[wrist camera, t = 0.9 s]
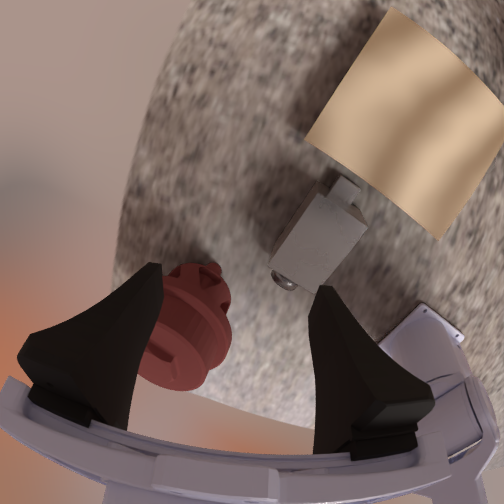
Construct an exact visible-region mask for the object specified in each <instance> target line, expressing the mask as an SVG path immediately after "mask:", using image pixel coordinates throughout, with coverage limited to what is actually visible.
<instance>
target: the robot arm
mask: <svg viewBox="0 0 504 504" xmlns="http://www.w3.org/2000/svg"><path fill="white" fill-rule="evenodd" d="M163 300H164V290H163V278H162V265H161V264H158V263H152V262H149V263H147V264H146V265H145V266H144V267H142V268H141V269H140V270H139V271H138V272H137V273H135V274H134V275H133V276H132V277H131V278H130V279H128V280H127V281H126V282H125V283H124V284H122V285H121V286H120V287H119V288H118V289H116V290H115V291H114V292H112V293H111V294H110V295H108V296H107V297H106V298H104V299H103V300H102V301H100V302H99V303H97V304H95V305H94V306H92V307H91V308H89V309H88V310H86V311H84V312H82V313H80V314H78V315H76V316H75V317H73V318H71V319H69V320H67V321H64V322H62V323H60V324H58V325H55V326H53V327H51V328H47V329H44V330H41V331H38V332H35V333H32V334H30V335H29V337H28V338H27V340H26V342H25V343H24V345H23V347H22V348H21V350H20V351H19V353H18V355H17V360H18V363H19V364H20V366H21V368H22V369H23V370H24V372H25V373H26V374H27V376H28V377H29V378H30V379H31V381H32V382H33V383H34V384H33V386H32V388H30V387H29V386H27V385H26V384H24V383H22V382H20V381H18V380H17V379H15V378H13V377H11V376H8V378H7V380H6V382H5V384H4V386H3V388H2V390H1V392H0V428H1V429H3V430H4V431H5V432H6V433H8V434H9V435H10V436H12V437H13V438H14V439H16V440H17V441H19V442H20V443H22V444H23V445H25V446H27V447H28V448H30V449H32V450H33V451H35V452H37V453H39V454H40V455H42V456H44V457H46V458H48V459H49V460H51V461H53V462H56V463H57V464H59V465H61V466H63V467H65V468H67V469H69V470H71V471H73V472H75V473H78V474H80V475H82V476H84V477H87V478H89V479H91V480H94V481H96V482H99V483H101V484H104V485H106V490H105V494H104V499H103V503H102V504H372V503H376V502H381V501H385V500H388V499H392V498H396V497H399V496H403V495H406V494H410V493H414V494H418V495H422V496H425V497H428V498H431V499H432V502H433V504H488V502H487V497H486V492H485V488H484V484H483V480H482V476H481V473H482V472H483V470H484V469H485V467H486V466H487V464H488V463H489V461H490V460H491V458H492V457H493V455H494V454H495V452H496V450H497V448H498V446H499V440H500V432H499V428H498V425H497V421H496V416H495V412H494V409H493V406H492V403H491V401H490V398H489V396H488V394H487V392H486V389H485V387H484V385H483V384H482V382H481V380H480V379H479V378H478V377H475V376H473V374H472V371H471V369H470V366H469V364H468V362H467V359H466V357H465V355H464V352H463V350H462V348H461V345H460V342H461V341H462V340H463V339H464V335H463V334H462V333H461V332H460V331H459V330H457V329H456V328H455V327H454V326H452V325H451V324H450V323H449V322H447V321H446V320H445V319H444V318H442V317H441V316H440V315H439V314H437V313H436V312H435V311H433V310H432V309H431V308H430V307H428V306H427V305H426V304H424V303H421V304H419V305H418V306H417V307H416V308H415V309H414V310H413V311H412V312H411V313H410V314H409V315H408V316H407V317H406V318H405V319H404V320H403V321H402V322H401V323H400V324H399V325H398V326H397V327H396V328H395V329H394V330H393V331H392V332H391V333H390V334H389V335H388V336H386V337H385V338H384V339H383V340H382V341H381V342H380V343H379V344H378V345H377V344H376V343H375V342H374V341H373V340H372V338H371V337H370V336H369V335H368V334H367V333H366V332H365V330H364V329H363V328H362V327H361V325H360V324H359V323H358V322H357V320H356V319H355V318H354V316H353V315H352V314H351V312H350V311H349V310H348V308H347V307H346V305H345V304H344V303H343V301H342V300H341V298H340V297H339V295H338V294H337V292H336V291H335V290H334V288H333V287H332V286H325V285H319V288H318V291H317V293H316V296H315V299H314V302H313V305H312V307H311V310H310V313H309V316H308V328H309V341H310V347H311V354H312V360H313V367H314V374H315V387H316V415H315V435H314V446H313V455H272V454H271V455H270V454H253V453H240V452H229V451H221V450H213V449H207V448H199V447H193V446H188V445H182V444H177V443H172V442H168V441H163V440H159V439H154V438H151V437H146V436H143V435H139V434H135V433H132V432H128V431H127V426H128V419H129V412H130V406H131V400H132V395H133V390H134V386H135V382H136V377H137V373H138V370H139V366H140V362H141V359H142V356H143V353H144V351H145V348H146V346H147V343H148V341H149V339H150V336H151V334H152V331H153V329H154V327H155V324H156V322H157V319H158V317H159V314H160V311H161V307H162V304H163ZM424 309H426V310H425V311H423V310H424ZM480 439H482V440H481V441H480V442H479V443H477V444H476V445H474V446H473V447H471V448H469V449H467V450H465V451H464V452H462V453H460V454H458V455H456V456H454V457H452V458H450V459H448V457H449V456H451V455H453V454H455V453H457V452H459V451H461V450H463V449H464V448H466V447H468V446H470V445H472V444H473V443H475V442H477V441H479V440H480Z"/></svg>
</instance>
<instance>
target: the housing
mask: <svg viewBox="0 0 504 504" xmlns="http://www.w3.org/2000/svg"><path fill="white" fill-rule="evenodd" d="M360 191H361V189H360V188H359V187H358V186H357V185H356V184H354V183H353V182H351V181H350V180H349V179H347V178H346V177H344V176H343V175H341V174H339V175H338V177H337V178H336V180H335V181H334V183H333V184H332V185H331V187H330V188H328V187H327V186H325V185H324V184H322V183H321V182H319V181H316V183H315V184H314V186H313V187H312V189H311V190H310V192H309V193H308V195H307V196H306V198H305V199H304V201H303V202H302V204H301V205H300V207H299V208H298V210H297V211H296V213H295V214H294V216H293V217H292V219H291V220H290V222H289V223H288V224H287V226H286V227H285V229H284V230H283V232H282V233H281V235H280V236H279V238H278V239H277V241H276V242H275V244H274V247H273V250H272V253H271V256H270V259H269V262H268V265H267V266H268V267H270V268H271V269H273V270H272V272H271V276H272V278H273V280H274V281H275V282H276V283H277V284H278V285H279V286H280V287H282V288H284V289H286V290H294V289H295V288H296V287H297V286H298V285H299V286H301V287H303V288H304V289H306V290H308V291H309V292H311V293H313V294H315V293H316V292H317V290H318V288H319V285H322V284H323V283H324V282H325V281H326V280H327V279H328V277H329V276H330V275H331V274H332V273H333V271H334V270H335V269H336V268H337V267H338V265H339V264H340V263H341V262H342V260H343V259H344V258H345V257H346V255H347V254H348V253H349V252H350V250H351V249H352V248H353V247H354V245H355V244H356V243H357V242H358V240H359V239H360V238H361V237H362V235H363V234H364V233H365V231H366V230H367V229H368V226H367V224H366V222H365V220H364V217H363V215H362V213H361V211H360V209H358V208H357V207H355V206H354V205H353V204H351V203H352V202H353V200H354V199H355V198H356V196H357V195H358V193H359V192H360Z"/></svg>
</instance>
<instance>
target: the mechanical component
mask: <svg viewBox="0 0 504 504" xmlns="http://www.w3.org/2000/svg"><path fill="white" fill-rule="evenodd" d="M220 275H221V267H220V266H219V265H218V264H216V263H209V264H208V265H207V266H204V265H201V264H197V263H185V264H182V265H179V266H177V267H176V268H175V269H173V270H172V272H171V273H170V274H169V275H168V276H162V278H163V290H164V300H163V304H162V307H161V311H160V314H159V317H158V319H157V322H156V324H155V327H154V329H153V331H152V334H151V336H150V339H149V341H148V343H147V346H146V348H145V351H144V353H143V356H142V359H141V362H140V366H139V370H138V374H139V375H140V376H142V377H143V378H145V379H146V380H148V381H150V382H152V383H154V384H156V385H158V386H160V387H163V388H166V389H170V390H175V391H190V390H194V389H196V388H198V387H200V386H201V385H202V384H203V383H204V381H205V378H206V376H207V374H208V372H209V370H211V369H213V368H215V367H217V366H218V365H220V364H221V363H222V362H223V360H224V359H225V357H226V355H227V353H228V350H229V348H230V345H231V341H232V332H231V327H230V324H229V321H228V319H227V317H226V313H227V311H228V309H229V306H230V303H231V295H230V291H229V288H228V286H227V284H226V282H225V281H224V280H223V278H222V277H221V276H220Z"/></svg>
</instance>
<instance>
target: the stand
mask: <svg viewBox="0 0 504 504" xmlns="http://www.w3.org/2000/svg"><path fill="white" fill-rule="evenodd" d="M304 140H305V141H307V142H309V143H310V144H312V145H313V146H315V147H316V148H318V149H320V150H321V151H323V152H324V153H326V154H327V155H329V156H330V157H332V158H333V159H335V160H336V161H338V162H339V163H341V164H342V165H344V166H345V167H346V168H348V169H349V170H351V171H352V172H354V173H355V174H356V175H358V176H359V177H361V178H362V179H363V180H365V181H366V182H367V183H369V184H370V185H371V186H373V187H374V188H375V189H377V190H378V191H379V192H381V193H382V194H383V195H385V196H386V197H387V198H388V199H390V200H391V201H392V202H393V203H395V204H396V205H397V206H398V207H400V208H401V209H402V210H403V211H405V212H406V213H407V214H408V215H409V216H411V217H412V218H413V219H414V220H415V221H416V222H418V223H419V224H420V225H421V226H422V227H423V228H424V229H426V230H427V231H428V232H429V233H430V234H431V235H432V236H433V237H435V238H436V239H437V240H438V241H439V239H440V238H441V237H442V236H443V234H444V233H445V232H446V230H447V229H448V228H449V226H450V225H451V224H452V222H453V221H454V220H455V218H456V217H457V215H458V214H459V213H460V211H461V210H462V208H463V207H464V205H465V204H466V203H467V201H468V200H469V198H470V197H471V195H472V194H473V192H474V191H475V189H476V188H477V186H478V184H479V183H480V181H481V180H482V178H483V176H484V175H485V173H486V172H487V170H488V168H489V167H490V165H491V163H492V161H493V160H494V158H495V156H496V155H497V153H498V151H499V149H500V147H501V145H502V144H503V142H504V106H503V105H502V104H501V102H500V101H499V100H498V99H497V98H496V96H495V95H494V94H493V93H492V92H491V91H490V90H489V88H488V87H487V86H486V85H485V84H484V83H483V82H482V81H481V80H480V79H479V78H478V77H477V76H476V75H475V74H474V73H473V72H472V71H471V70H470V69H469V68H468V67H467V66H466V65H465V64H464V63H463V62H462V61H461V60H460V59H459V58H458V57H457V56H456V55H455V54H453V53H452V52H451V51H450V50H449V49H448V48H447V47H445V46H444V45H443V44H442V43H441V42H439V41H438V40H437V39H436V38H435V37H433V36H432V35H431V34H429V33H428V32H427V31H426V30H424V29H423V28H422V27H420V26H419V25H418V24H416V23H415V22H413V21H412V20H411V19H409V18H408V17H406V16H405V15H403V14H402V13H400V12H399V11H397V10H396V9H394V8H393V7H390V9H389V10H388V12H387V13H386V15H385V16H384V18H383V19H382V21H381V22H380V24H379V25H378V27H377V28H376V30H375V31H374V33H373V34H372V36H371V37H370V39H369V40H368V42H367V43H366V45H365V46H364V48H363V49H362V51H361V52H360V54H359V55H358V57H357V58H356V60H355V61H354V63H353V64H352V66H351V67H350V69H349V70H348V72H347V74H346V75H345V77H344V78H343V80H342V81H341V83H340V84H339V86H338V87H337V89H336V90H335V92H334V94H333V95H332V97H331V98H330V100H329V101H328V103H327V104H326V106H325V108H324V109H323V111H322V112H321V114H320V115H319V117H318V118H317V120H316V122H315V123H314V125H313V126H312V128H311V129H310V131H309V133H308V134H307V136H306V137H305V139H304Z"/></svg>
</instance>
